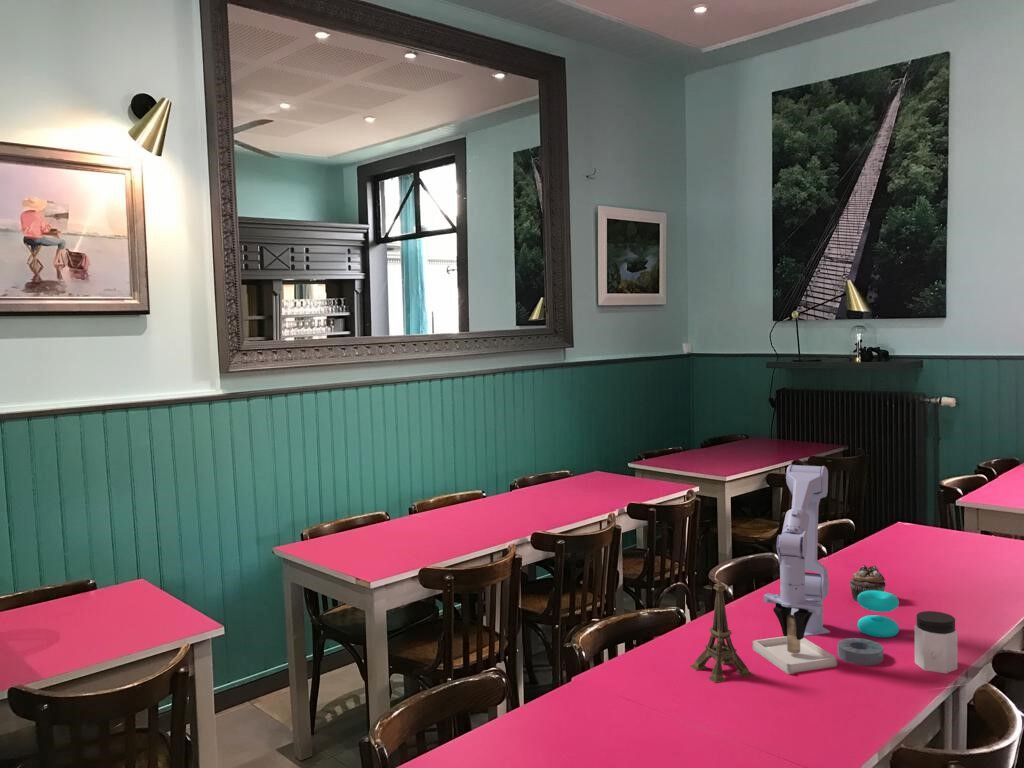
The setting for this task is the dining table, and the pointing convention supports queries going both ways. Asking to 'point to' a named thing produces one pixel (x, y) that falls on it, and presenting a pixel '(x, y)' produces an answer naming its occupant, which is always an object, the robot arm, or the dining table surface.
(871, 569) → the cupcake
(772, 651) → the tray
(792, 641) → the pin
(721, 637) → the eiffel tower
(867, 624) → the donuts
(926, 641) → the jar
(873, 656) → the grey faceted ashtray
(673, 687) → the dining table surface
